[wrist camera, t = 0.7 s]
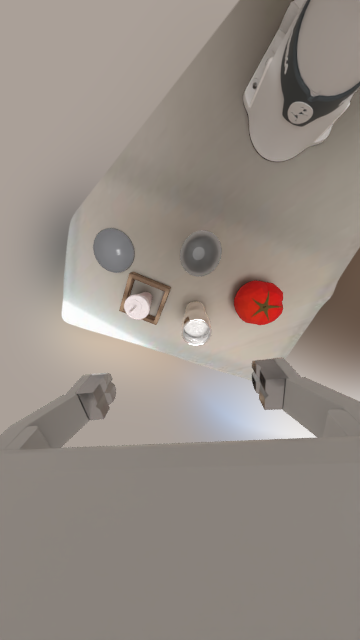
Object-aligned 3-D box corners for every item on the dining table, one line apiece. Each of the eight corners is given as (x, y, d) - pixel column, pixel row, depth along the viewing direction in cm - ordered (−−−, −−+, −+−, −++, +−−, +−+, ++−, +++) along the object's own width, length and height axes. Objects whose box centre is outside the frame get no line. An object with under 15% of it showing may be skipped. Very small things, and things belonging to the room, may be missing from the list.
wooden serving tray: (133, 271, 48) (129, 273, 45) (170, 287, 49) (169, 289, 46) (123, 307, 52) (119, 310, 49) (158, 321, 53) (156, 325, 50)
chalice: (201, 271, 47) (206, 283, 30) (179, 259, 46) (172, 264, 29) (215, 246, 44) (230, 243, 27) (192, 232, 43) (193, 221, 26)
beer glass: (197, 294, 49) (200, 312, 35) (211, 312, 51) (218, 336, 37) (178, 308, 51) (174, 329, 37) (192, 325, 53) (192, 351, 39)
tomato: (280, 298, 48) (304, 311, 38) (246, 323, 51) (260, 341, 41) (255, 266, 45) (274, 271, 35) (221, 296, 49) (229, 308, 38)
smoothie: (153, 285, 49) (140, 297, 36) (159, 306, 51) (148, 324, 38) (132, 289, 50) (112, 302, 37) (139, 309, 52) (121, 329, 39)
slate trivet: (98, 221, 43) (97, 221, 43) (139, 238, 44) (138, 238, 44) (91, 263, 47) (90, 263, 47) (128, 278, 48) (127, 278, 48)
